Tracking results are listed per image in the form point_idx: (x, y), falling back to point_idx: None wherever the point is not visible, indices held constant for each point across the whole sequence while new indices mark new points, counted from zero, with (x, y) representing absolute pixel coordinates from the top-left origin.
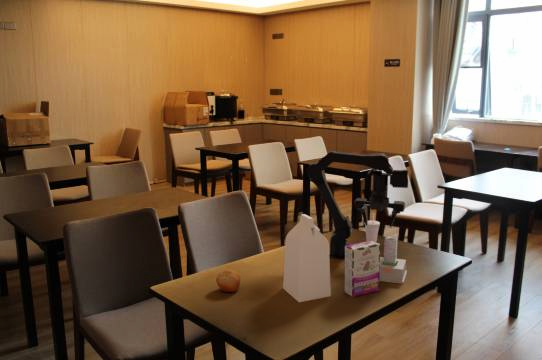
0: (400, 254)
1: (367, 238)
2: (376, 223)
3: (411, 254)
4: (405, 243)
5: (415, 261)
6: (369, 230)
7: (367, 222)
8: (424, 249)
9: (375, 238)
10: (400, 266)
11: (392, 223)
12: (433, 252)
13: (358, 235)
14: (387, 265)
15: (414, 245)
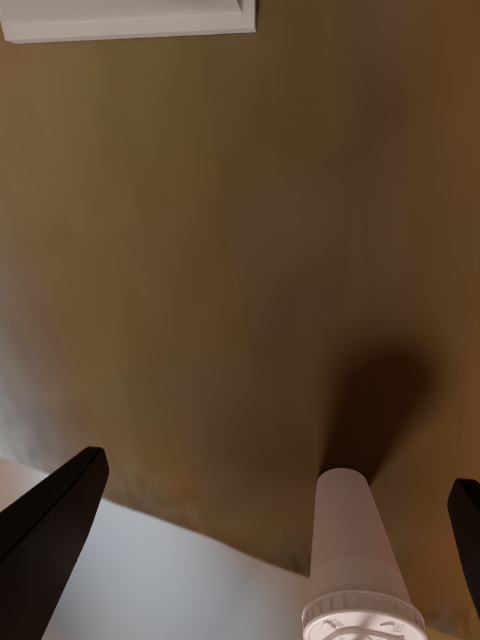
0: (160, 383)
1: (373, 509)
2: (327, 629)
3: (107, 395)
4: (176, 519)
5: (51, 297)
6: (372, 560)
7: (460, 542)
8: None
9: (322, 511)
10: None
11: (23, 496)
12: (23, 441)
13: (418, 578)
14: None
15: (131, 504)
